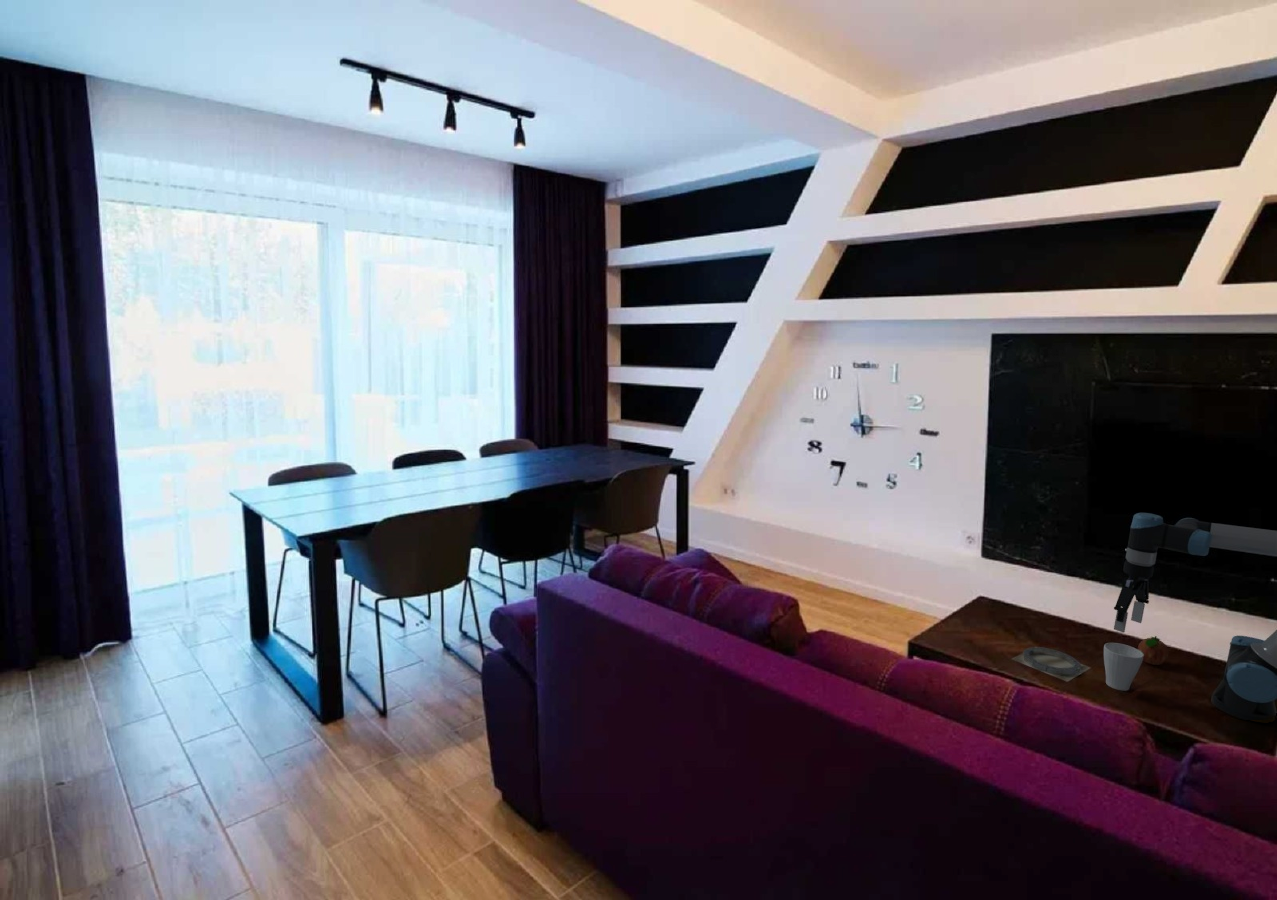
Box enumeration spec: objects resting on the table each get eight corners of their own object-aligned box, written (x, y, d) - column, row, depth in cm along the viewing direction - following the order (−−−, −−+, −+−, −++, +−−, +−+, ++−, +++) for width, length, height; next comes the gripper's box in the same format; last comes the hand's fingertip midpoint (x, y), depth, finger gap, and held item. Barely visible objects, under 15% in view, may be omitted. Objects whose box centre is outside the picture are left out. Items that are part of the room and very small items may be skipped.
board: (1090, 670, 234) (1091, 667, 233) (1066, 685, 223) (1067, 681, 223) (1035, 649, 248) (1035, 646, 248) (1010, 662, 237) (1011, 658, 237)
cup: (1098, 677, 229) (1104, 639, 227) (1136, 687, 223) (1143, 649, 221) (1096, 689, 221) (1103, 650, 219) (1136, 701, 215) (1144, 661, 213)
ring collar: (1087, 667, 234) (1088, 662, 233) (1065, 680, 224) (1066, 674, 224) (1037, 647, 247) (1037, 643, 246) (1014, 659, 237) (1015, 654, 237)
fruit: (1170, 665, 241) (1176, 638, 239) (1159, 671, 235) (1164, 644, 234) (1142, 654, 248) (1147, 628, 246) (1130, 660, 243) (1135, 634, 241)
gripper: (1141, 552, 225) (1129, 613, 229) (1109, 565, 210) (1097, 630, 214) (1168, 559, 219) (1156, 621, 223) (1137, 573, 204) (1125, 639, 208)
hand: (1127, 626), depth 218 cm, fingers open, 13 cm apart
